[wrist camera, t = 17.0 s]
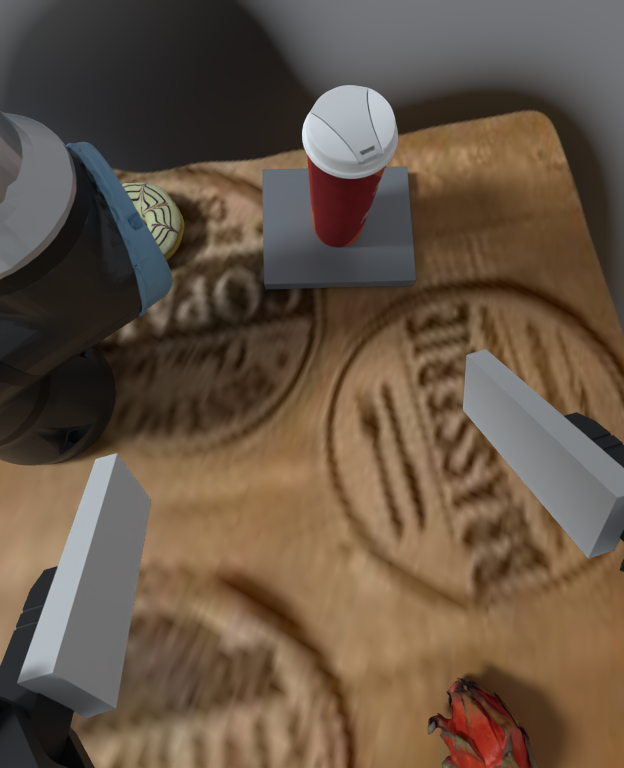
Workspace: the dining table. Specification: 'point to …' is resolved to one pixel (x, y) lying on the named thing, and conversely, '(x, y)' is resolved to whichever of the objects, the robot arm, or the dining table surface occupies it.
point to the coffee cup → (346, 159)
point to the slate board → (335, 264)
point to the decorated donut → (158, 215)
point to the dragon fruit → (481, 731)
